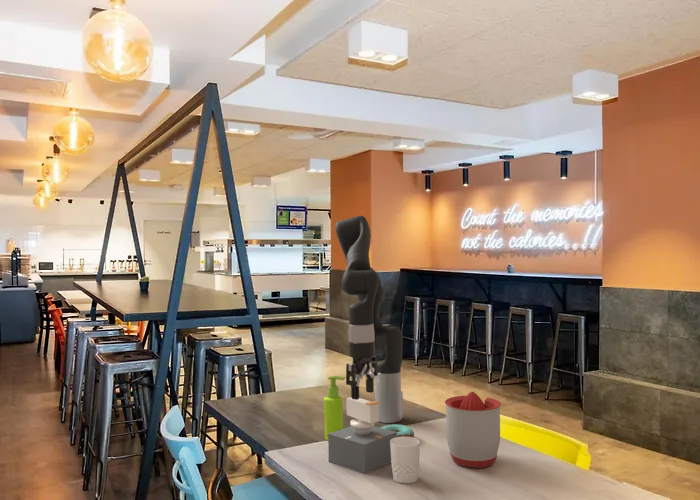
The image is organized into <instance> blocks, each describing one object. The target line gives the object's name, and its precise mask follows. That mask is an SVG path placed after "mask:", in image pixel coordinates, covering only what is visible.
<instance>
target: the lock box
mask: <svg viewBox="0 0 700 500" xmlns="http://www.w3.org/2000/svg"><path fill="white" fill-rule="evenodd" d="M396 437H397V432H394V431H390V430H387V429H383V428H381V427H379V426H376V425H374V427H372V428H367V429H357V428H353V427H351V426H348V427H343V429H341V430H338V431H335V432H332V433H330V434H328V440H327V441H328V444H327V445H328V447H327V448H328V462H329V463H331V464H335V465H337V466H341V467H344V468H346V469H349V470H352V471H354V472H358V473H361V474H368V473H370V472H372V471H375V470H377V469H380V468H382V467H384V466H387V465H388V464H392V463H391V449H390V440H391V439H393V438H396Z"/></svg>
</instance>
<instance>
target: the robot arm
mask: <svg viewBox="0 0 700 500" xmlns="http://www.w3.org/2000/svg"><path fill="white" fill-rule="evenodd" d="M335 234H336V238H337V239H338V242H339V245H340V248H341V250H342V253H343V255H344V258H345V261H346V269H345V271H344V273H343V275H342V276H343V277H342V278H341V289H342V290H343V292H344V293H345V294H347V295H349V296H357V298H358V302H354V303H352V304H350V305H349V307H348V334H347V335H348V356H349V357H351V358H352V363H349V362H347V363H346V367H345V371H346V372H345V385H347V386H350V393H351V394H350V395H351V396H350V397H351V398H352V399H355V400H358V399H359V398H360V386H359V385H360V383H361V381H362V379H363V378H364V377H365V392H366V393H371V394H372V393H375V394H374V398H375V399H374V401H376V402H379V404H378V409H379V421H378V422H379V423H383V424H387V423H388V424H391V423H392V424H393V423H394V424H395V423H397V422H401V421H402V419H403V418H404V409H403V408H404V407H403V406H404V405H403V403H404V402H403V401H404V399H403V397H404V395H403V394H404V393H403V391H402V375H401V370H402V369H401V368H402V364H403V347H404V346H403V345H404V338H403V333H402V330H401V329H400V328H399V327H398V326H387V325H383V323H382V321H381V317H380V309H381V305H382V303H383V300H384V289H383V285H382V281H381V278H380V275H379V274H378V272H376V270H375V269H374V268H372V267H371V261H370V255H369V254H370V248H371V237H372V234H371V228H370V225H369V222H368V220H367V218H366V217H365V216H364V215H356V216H352V217H349V218H345V219H343V220H339V221H337V222H336V223H335ZM376 352H380V353H382V352H383V353H385V358H384V359H383V360H380V361H378V356H377V355H376Z"/></svg>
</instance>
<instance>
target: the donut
mask: <svg viewBox="0 0 700 500" xmlns="http://www.w3.org/2000/svg"><path fill="white" fill-rule="evenodd" d="M380 428H383V429H387V430H390V431H394V432H397V437H413V438H415V432H414V430H413V429H412V428H411V427H410V426H407V425H404V424H395V423H394V424H387V425H383V426H381V427H380Z"/></svg>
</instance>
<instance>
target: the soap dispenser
mask: <svg viewBox="0 0 700 500" xmlns="http://www.w3.org/2000/svg"><path fill="white" fill-rule="evenodd" d="M327 379H328V380H329V381H330V385H329V386H327V396H325V397H324V398H323V402H324V403H323V407H324V409H323V411H324V412H323V413H324V414H323V415H324V439H325V440H326V441H328V434H330V433H332V432H335V431H338V430H341V429H344V426H343V425H344V421H343V420H344V418H343V417H344V414H343V410H344V409H343V397H342V396H340V395H339V386H337V384H336V383H337V382H336V380H341V381H344V380H346V376H345V377H344V376H341V375H331V376H330V375H329V376H328V378H327Z"/></svg>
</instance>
